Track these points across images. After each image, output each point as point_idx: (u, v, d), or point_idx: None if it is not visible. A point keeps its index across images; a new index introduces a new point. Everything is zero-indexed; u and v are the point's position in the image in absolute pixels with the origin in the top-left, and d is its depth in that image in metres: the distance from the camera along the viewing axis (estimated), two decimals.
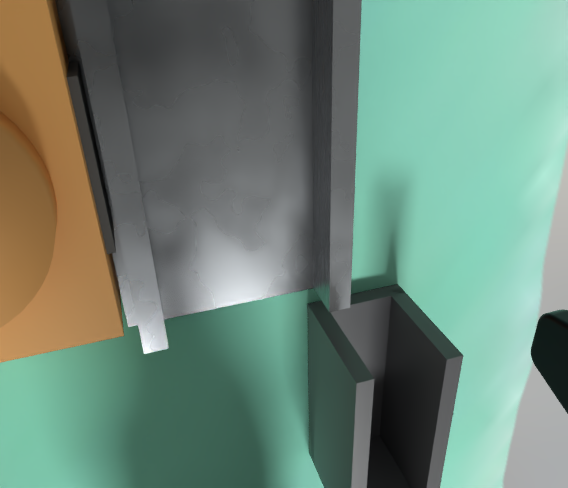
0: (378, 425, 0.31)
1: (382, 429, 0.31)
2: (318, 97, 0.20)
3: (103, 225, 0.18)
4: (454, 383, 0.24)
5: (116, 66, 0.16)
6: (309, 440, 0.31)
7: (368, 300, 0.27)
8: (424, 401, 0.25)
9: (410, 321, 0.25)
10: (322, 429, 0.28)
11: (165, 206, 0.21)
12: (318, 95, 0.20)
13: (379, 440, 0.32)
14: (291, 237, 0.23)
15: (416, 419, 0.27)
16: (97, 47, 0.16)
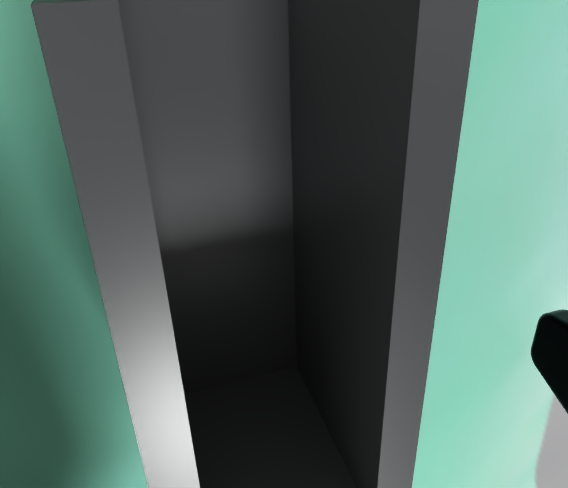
0: (291, 342, 0.15)
1: (299, 350, 0.15)
2: None
3: None
4: (450, 110, 0.07)
5: None
6: None
7: None
8: (366, 217, 0.09)
9: None
10: None
11: None
12: None
13: (294, 375, 0.15)
14: None
15: (350, 287, 0.10)
16: None
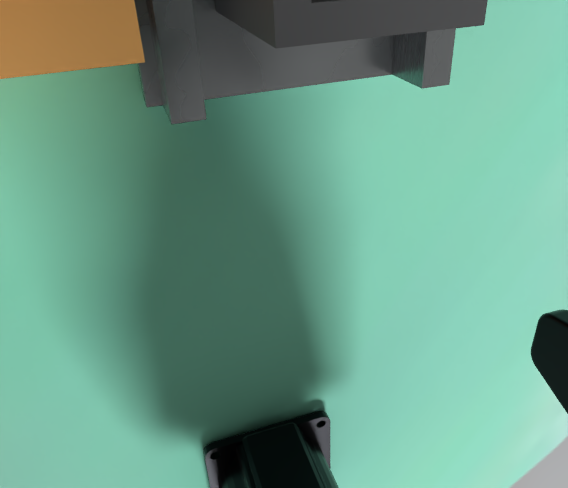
0: None
1: None
2: None
3: None
4: None
5: None
6: None
7: None
8: None
9: None
10: None
11: None
12: None
13: None
14: None
15: None
16: None
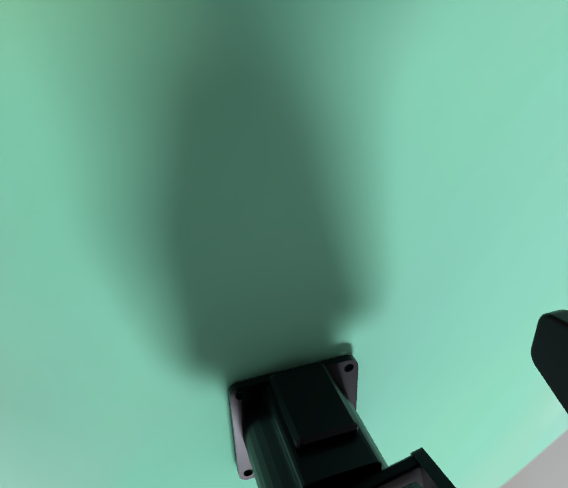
0: None
1: None
2: None
3: None
4: None
5: None
6: None
7: None
8: None
9: None
10: None
11: None
12: None
13: None
14: None
15: None
16: None
